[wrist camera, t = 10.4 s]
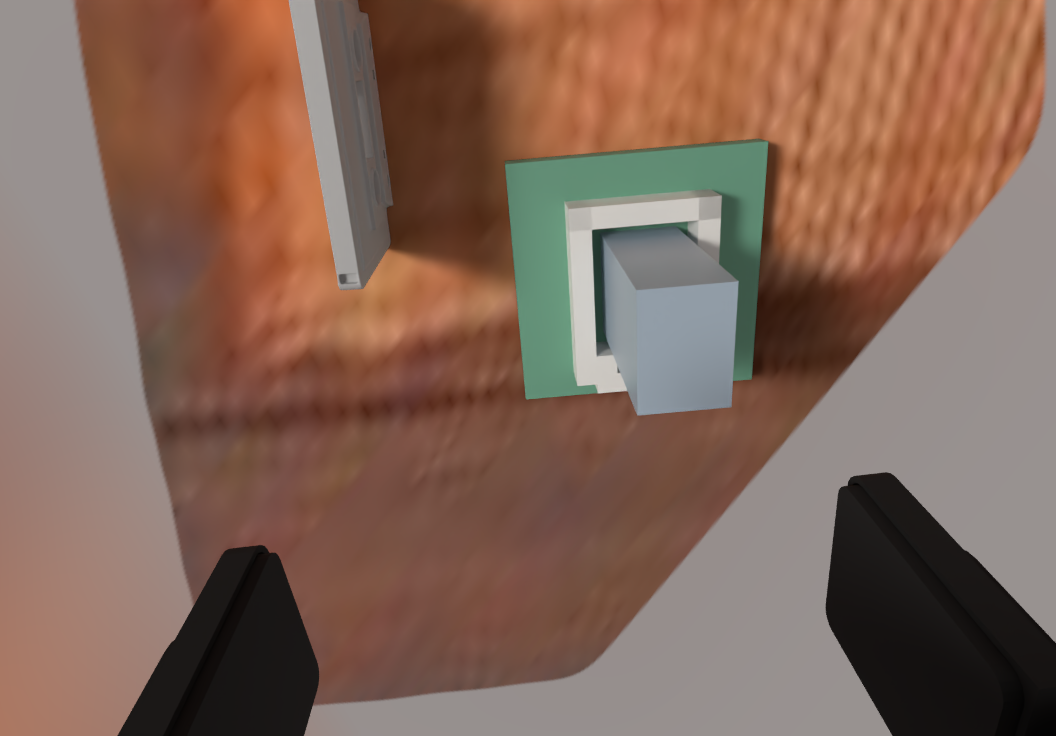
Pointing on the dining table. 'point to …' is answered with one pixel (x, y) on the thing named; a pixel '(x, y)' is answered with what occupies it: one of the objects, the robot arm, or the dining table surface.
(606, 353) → the header board
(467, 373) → the dining table surface
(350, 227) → the cassette
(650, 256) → the plug
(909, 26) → the dining table surface
